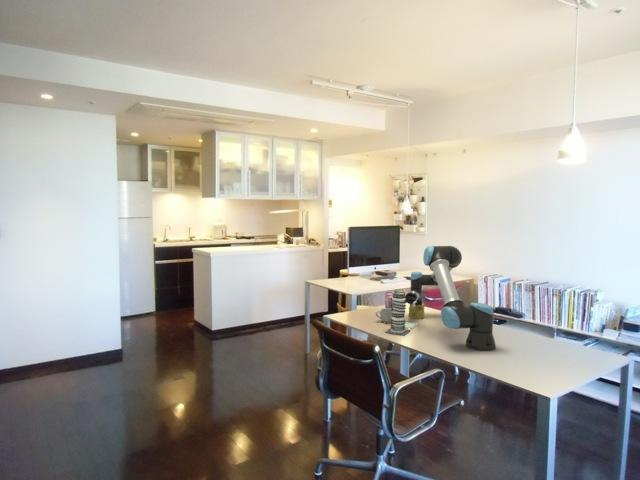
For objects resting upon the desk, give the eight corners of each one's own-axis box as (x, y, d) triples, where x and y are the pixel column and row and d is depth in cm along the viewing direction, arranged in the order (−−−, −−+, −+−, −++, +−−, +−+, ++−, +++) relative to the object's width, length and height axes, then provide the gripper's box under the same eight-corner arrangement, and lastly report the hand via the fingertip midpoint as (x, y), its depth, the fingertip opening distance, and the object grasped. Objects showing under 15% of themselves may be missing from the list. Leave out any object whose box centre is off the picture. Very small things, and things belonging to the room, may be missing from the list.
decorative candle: (408, 332, 257) (409, 291, 255) (394, 333, 255) (395, 291, 253) (401, 328, 266) (402, 288, 264) (387, 329, 264) (388, 288, 262)
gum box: (399, 318, 290) (400, 299, 289) (388, 318, 291) (388, 299, 290) (395, 310, 314) (395, 292, 313) (384, 310, 315) (384, 292, 314)
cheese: (408, 318, 293) (408, 303, 292) (409, 314, 303) (410, 300, 302) (424, 319, 290) (424, 304, 289) (424, 315, 300) (425, 301, 299)
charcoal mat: (410, 330, 263) (410, 329, 263) (404, 335, 252) (404, 334, 252) (391, 328, 268) (391, 327, 268) (385, 333, 258) (385, 332, 258)
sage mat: (417, 324, 277) (417, 323, 277) (412, 329, 266) (412, 328, 266) (399, 322, 282) (399, 321, 282) (393, 326, 272) (393, 325, 272)
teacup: (396, 320, 287) (396, 308, 287) (397, 324, 277) (397, 312, 276) (375, 319, 289) (375, 307, 288) (375, 323, 278) (375, 311, 277)
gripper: (430, 305, 280) (422, 312, 261) (393, 301, 291) (383, 307, 273) (430, 293, 279) (422, 300, 260) (394, 290, 291) (383, 296, 272)
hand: (402, 304), depth 266 cm, fingers open, 13 cm apart
